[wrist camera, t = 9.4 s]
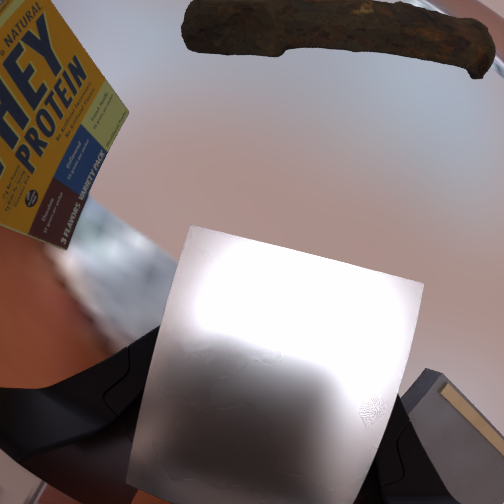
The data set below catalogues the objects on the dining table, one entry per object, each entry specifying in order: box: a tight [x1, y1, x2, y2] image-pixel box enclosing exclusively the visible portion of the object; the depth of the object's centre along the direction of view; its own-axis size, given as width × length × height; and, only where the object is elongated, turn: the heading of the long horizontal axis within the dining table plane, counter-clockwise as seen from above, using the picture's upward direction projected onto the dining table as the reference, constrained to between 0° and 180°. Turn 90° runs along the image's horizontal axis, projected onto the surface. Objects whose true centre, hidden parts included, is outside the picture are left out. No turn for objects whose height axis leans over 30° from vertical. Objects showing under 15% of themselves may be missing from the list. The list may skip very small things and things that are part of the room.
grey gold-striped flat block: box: [401, 368, 504, 504], centre depth 12 cm, size 12×6×2 cm, turn 47°
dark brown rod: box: [181, 0, 496, 79], centre depth 17 cm, size 23×5×6 cm, turn 88°
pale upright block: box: [126, 225, 424, 504], centre depth 9 cm, size 4×5×9 cm
